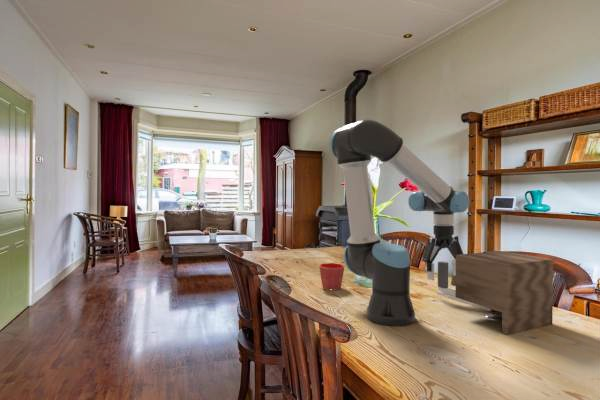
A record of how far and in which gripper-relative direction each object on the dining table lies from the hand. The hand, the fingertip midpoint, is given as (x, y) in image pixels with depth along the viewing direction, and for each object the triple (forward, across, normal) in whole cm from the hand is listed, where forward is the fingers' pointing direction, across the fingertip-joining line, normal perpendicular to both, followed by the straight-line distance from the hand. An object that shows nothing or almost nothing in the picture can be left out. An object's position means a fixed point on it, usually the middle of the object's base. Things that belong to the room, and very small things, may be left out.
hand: (443, 277), depth 143 cm
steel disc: (+7, +8, +28) cm, 29 cm away
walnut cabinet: (+7, +6, +30) cm, 31 cm away
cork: (+7, -18, -8) cm, 21 cm away
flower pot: (+6, +36, -26) cm, 46 cm away
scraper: (+7, 0, +10) cm, 12 cm away
